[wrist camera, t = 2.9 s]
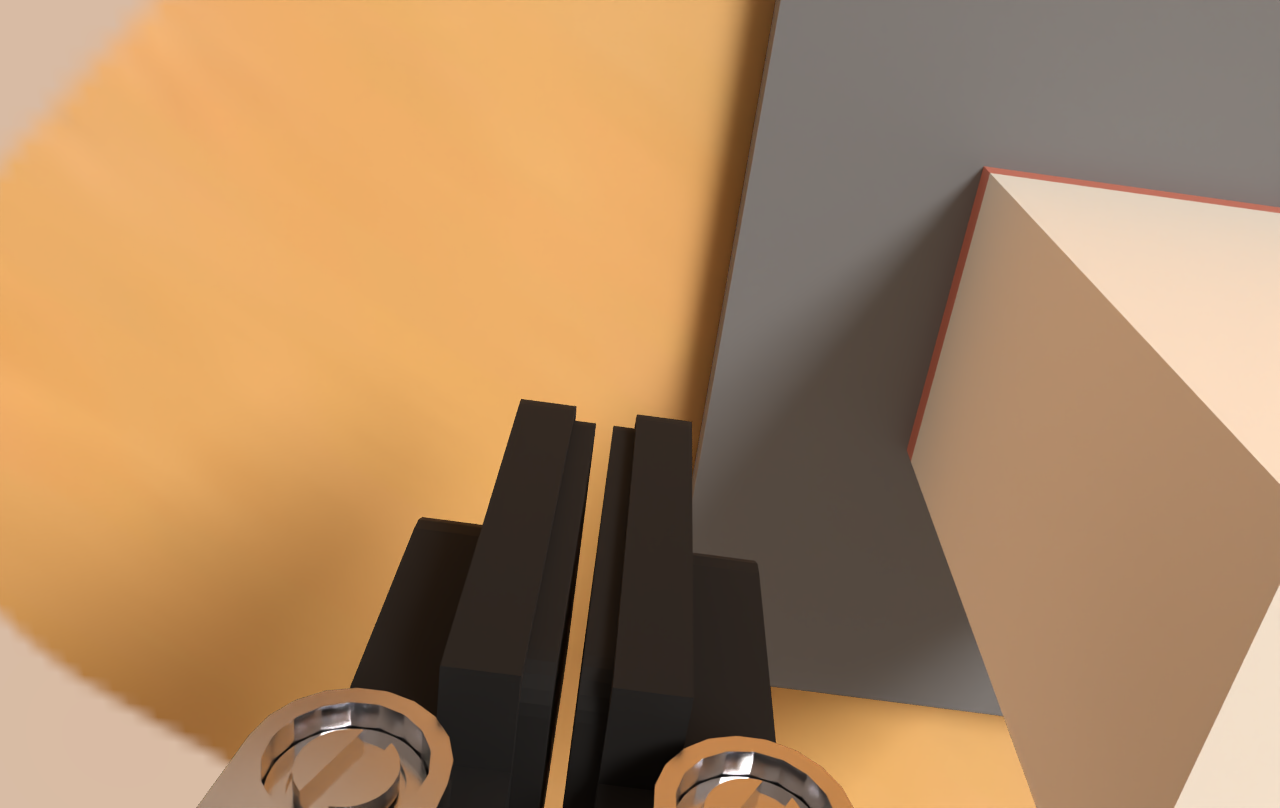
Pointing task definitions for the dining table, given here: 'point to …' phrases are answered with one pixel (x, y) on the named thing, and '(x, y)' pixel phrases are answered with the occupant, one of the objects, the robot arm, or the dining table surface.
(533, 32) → the dining table surface
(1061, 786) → the cream block
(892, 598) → the charcoal mat
